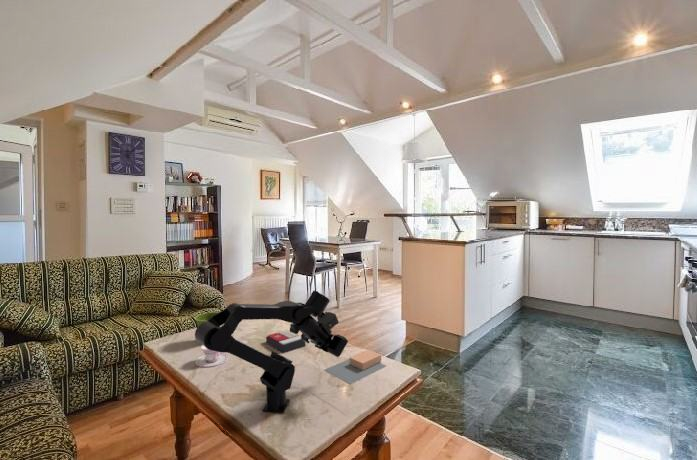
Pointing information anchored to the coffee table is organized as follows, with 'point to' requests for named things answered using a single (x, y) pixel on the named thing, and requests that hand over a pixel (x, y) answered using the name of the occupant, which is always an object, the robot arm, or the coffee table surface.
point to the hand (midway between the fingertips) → (336, 351)
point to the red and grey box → (285, 341)
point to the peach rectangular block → (365, 359)
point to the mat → (352, 371)
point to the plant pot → (204, 317)
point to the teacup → (211, 358)
